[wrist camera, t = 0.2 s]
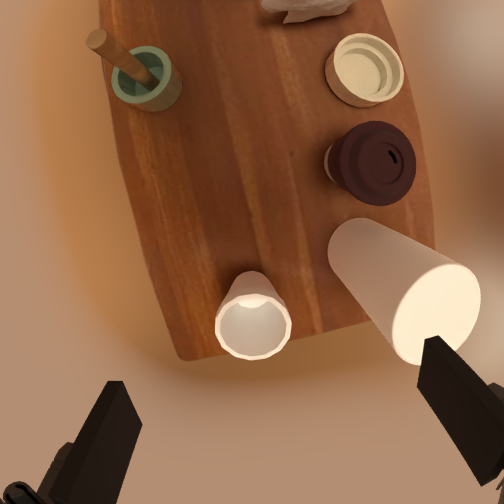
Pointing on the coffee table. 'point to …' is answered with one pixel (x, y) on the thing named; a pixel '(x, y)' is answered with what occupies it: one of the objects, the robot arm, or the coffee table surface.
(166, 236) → the coffee table surface
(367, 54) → the bowl
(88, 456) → the robot arm
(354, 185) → the coffee cup
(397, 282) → the tall pillar cylinder
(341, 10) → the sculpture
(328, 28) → the coffee table surface
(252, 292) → the foam cup
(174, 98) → the holder
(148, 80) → the stirring stick
